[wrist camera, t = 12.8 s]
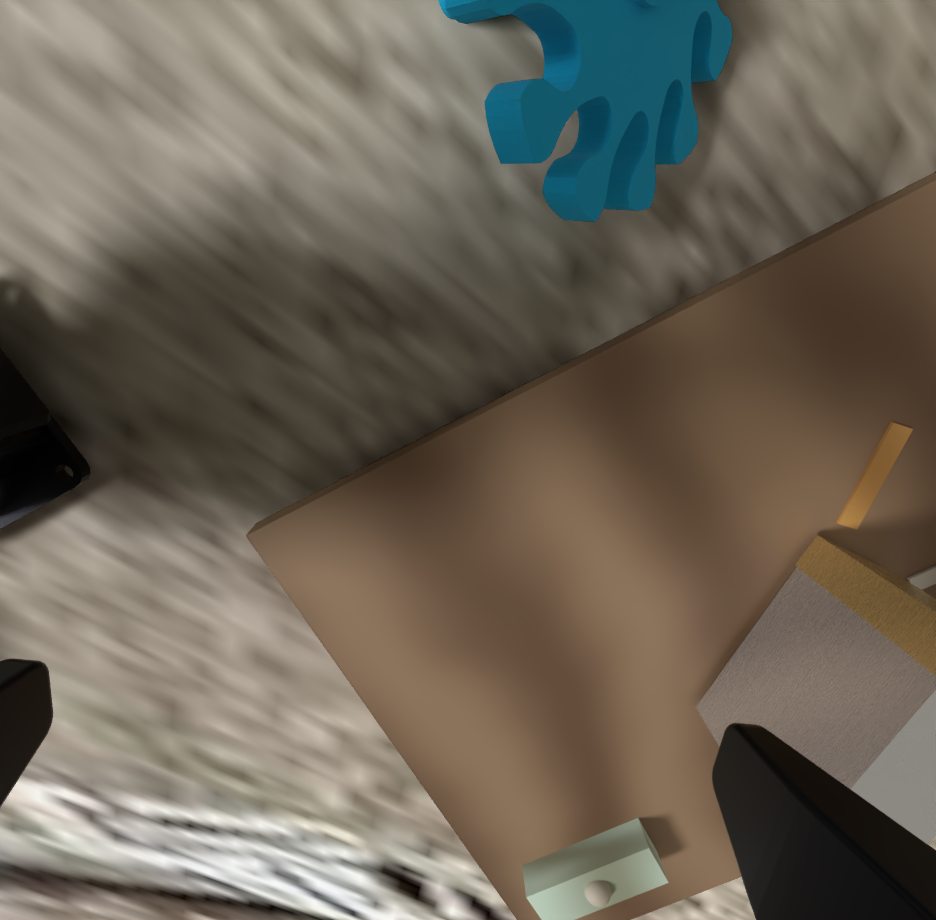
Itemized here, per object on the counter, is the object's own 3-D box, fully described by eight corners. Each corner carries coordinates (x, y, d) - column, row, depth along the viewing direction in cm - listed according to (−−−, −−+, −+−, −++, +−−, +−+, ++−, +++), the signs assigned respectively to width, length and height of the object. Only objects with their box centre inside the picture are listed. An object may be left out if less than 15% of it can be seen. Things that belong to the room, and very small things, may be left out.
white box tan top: (765, 735, 20) (882, 898, 14) (693, 705, 19) (787, 863, 14) (891, 571, 18) (1080, 688, 13) (816, 534, 17) (979, 640, 12)
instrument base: (537, 928, 24) (548, 1004, 21) (256, 522, 18) (224, 560, 16) (1086, 711, 21) (1173, 768, 19) (966, 156, 16) (1068, 128, 13)
